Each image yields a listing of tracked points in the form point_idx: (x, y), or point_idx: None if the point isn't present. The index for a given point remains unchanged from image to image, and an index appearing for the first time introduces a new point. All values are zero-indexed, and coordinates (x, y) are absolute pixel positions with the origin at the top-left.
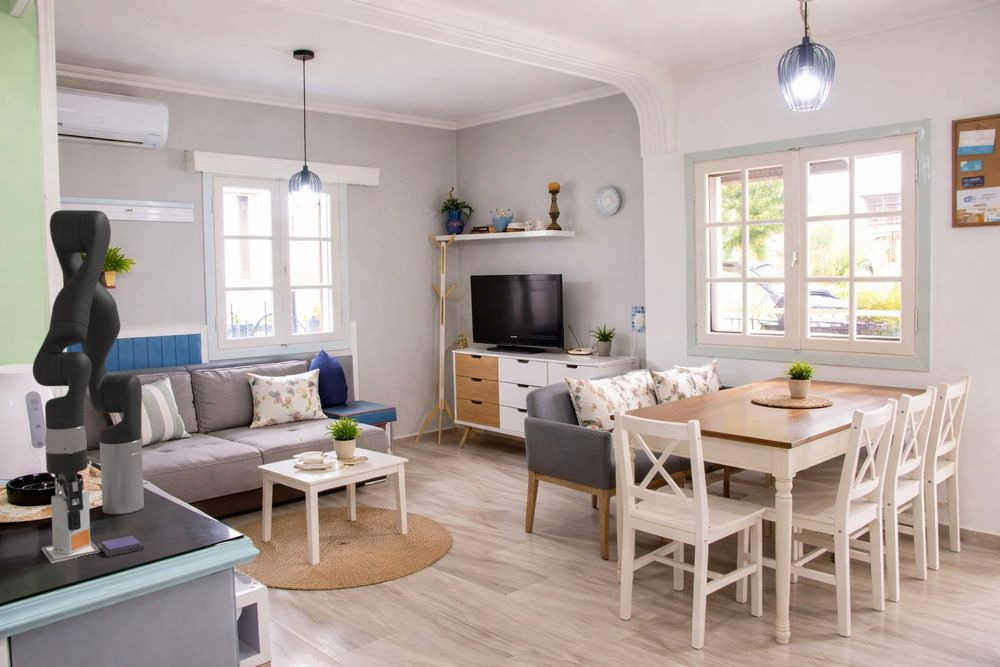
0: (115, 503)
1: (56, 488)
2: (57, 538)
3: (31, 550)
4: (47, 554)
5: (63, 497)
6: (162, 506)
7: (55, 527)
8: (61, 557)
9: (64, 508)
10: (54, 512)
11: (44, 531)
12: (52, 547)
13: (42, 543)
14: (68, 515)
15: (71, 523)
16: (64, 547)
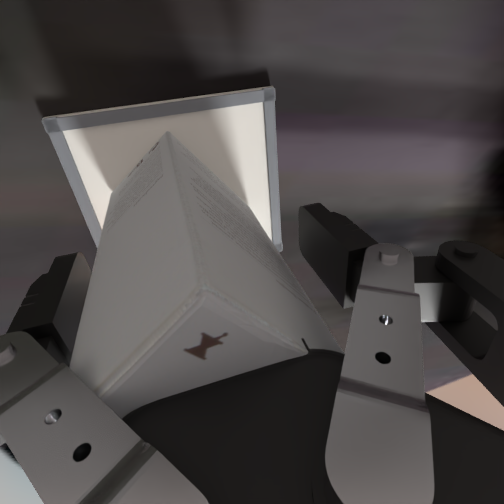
0: (486, 317)
1: (396, 345)
2: (148, 170)
3: (294, 38)
4: (152, 105)
5: (4, 436)
6: (433, 371)
7: (155, 183)
8: (72, 162)
9: (93, 320)
10: (165, 224)
11: (488, 107)
12: (256, 129)
13: (357, 92)
14: (28, 318)
15: (29, 296)
16: (122, 185)
